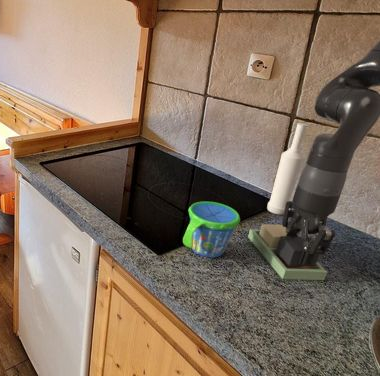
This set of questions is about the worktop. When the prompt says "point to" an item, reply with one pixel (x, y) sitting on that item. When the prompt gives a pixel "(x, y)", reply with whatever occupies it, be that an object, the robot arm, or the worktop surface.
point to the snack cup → (210, 228)
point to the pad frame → (281, 265)
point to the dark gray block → (293, 250)
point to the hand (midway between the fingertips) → (295, 256)
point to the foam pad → (271, 234)
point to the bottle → (287, 173)
